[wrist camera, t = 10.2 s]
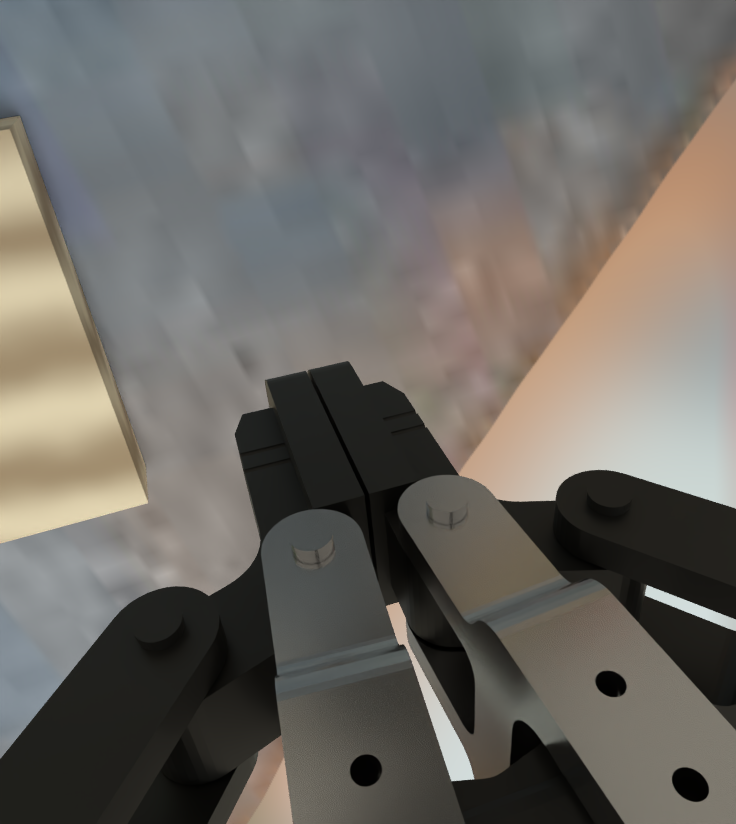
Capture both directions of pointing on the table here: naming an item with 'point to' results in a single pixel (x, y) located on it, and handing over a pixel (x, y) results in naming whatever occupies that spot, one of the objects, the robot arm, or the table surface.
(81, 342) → the deck
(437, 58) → the table surface
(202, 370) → the table surface
